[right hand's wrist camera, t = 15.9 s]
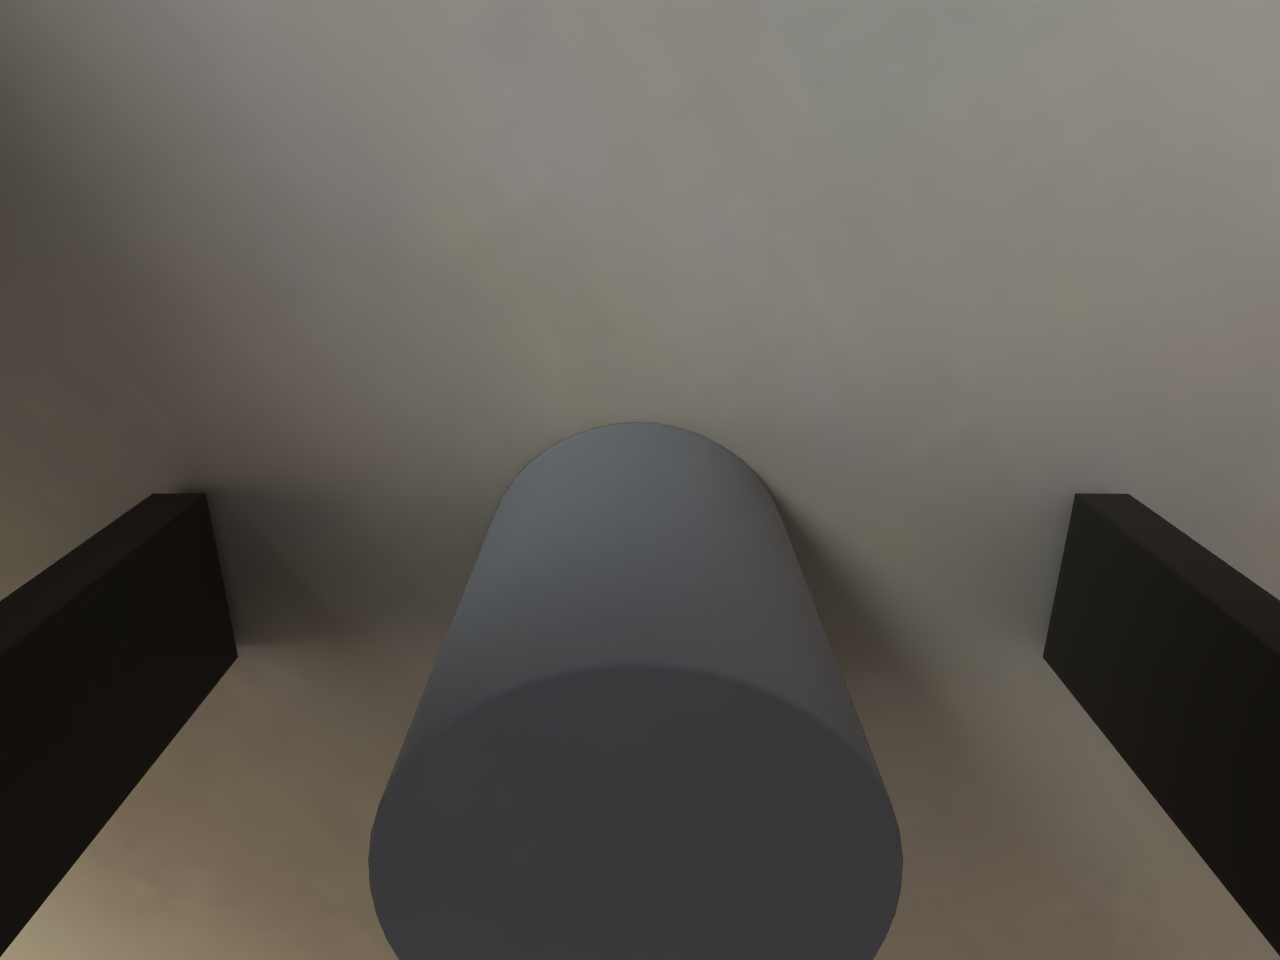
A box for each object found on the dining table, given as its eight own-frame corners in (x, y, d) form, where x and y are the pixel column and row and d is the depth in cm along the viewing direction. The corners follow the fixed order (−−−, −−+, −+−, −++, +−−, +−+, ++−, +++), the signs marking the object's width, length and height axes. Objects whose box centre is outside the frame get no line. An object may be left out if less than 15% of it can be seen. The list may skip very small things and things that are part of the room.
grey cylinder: (496, 692, 14) (395, 1071, 8) (476, 420, 12) (332, 662, 6) (778, 691, 14) (875, 1072, 8) (797, 421, 12) (937, 662, 6)
